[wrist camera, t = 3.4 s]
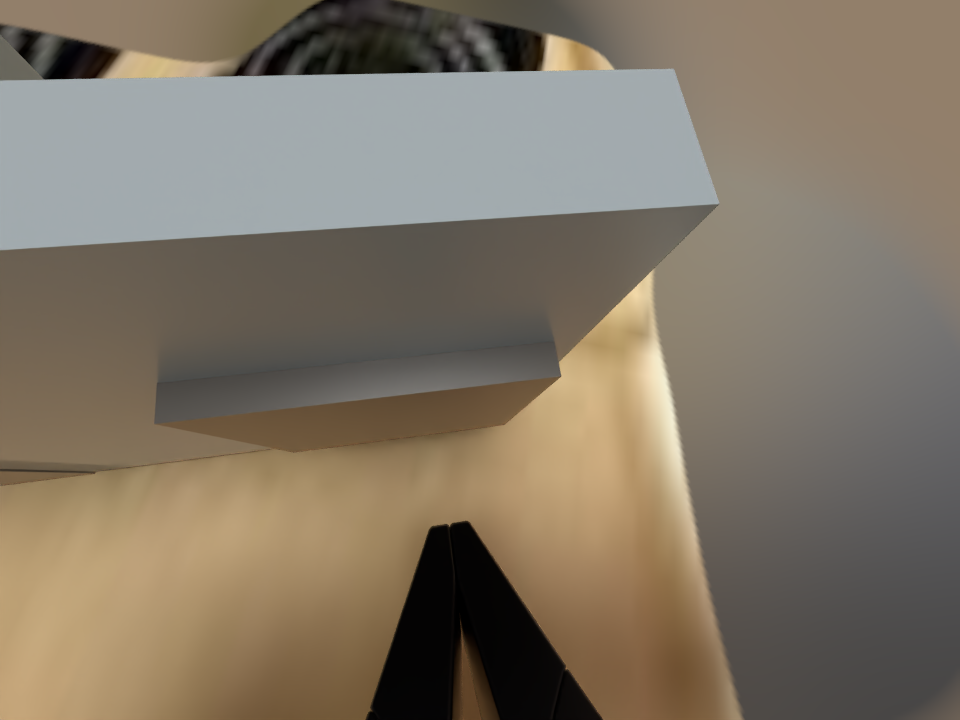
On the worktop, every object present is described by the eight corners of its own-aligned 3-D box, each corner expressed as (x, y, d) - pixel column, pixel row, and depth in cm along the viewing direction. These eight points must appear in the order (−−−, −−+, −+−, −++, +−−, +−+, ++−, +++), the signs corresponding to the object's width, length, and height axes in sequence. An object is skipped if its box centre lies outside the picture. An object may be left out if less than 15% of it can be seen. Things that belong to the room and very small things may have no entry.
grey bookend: (503, 434, 16) (740, 267, 3) (94, 489, 14) (-2604, 555, 2) (463, 178, 19) (513, -404, 6) (123, 195, 17) (-716, -571, 5)
